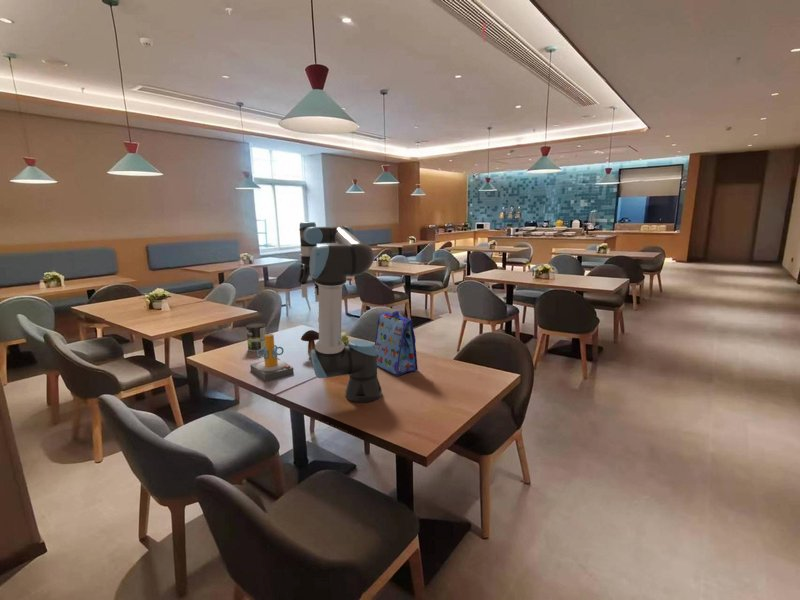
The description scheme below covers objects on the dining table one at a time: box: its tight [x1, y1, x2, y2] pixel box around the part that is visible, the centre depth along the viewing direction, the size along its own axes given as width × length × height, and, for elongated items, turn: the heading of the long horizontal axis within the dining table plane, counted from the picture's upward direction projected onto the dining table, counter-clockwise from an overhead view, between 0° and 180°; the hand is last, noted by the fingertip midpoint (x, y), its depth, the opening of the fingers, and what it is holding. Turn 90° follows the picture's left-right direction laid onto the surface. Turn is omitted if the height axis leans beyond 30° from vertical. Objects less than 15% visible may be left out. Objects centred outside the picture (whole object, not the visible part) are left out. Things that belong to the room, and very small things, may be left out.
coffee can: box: [245, 322, 267, 353], centre depth 226 cm, size 10×10×14 cm
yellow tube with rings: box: [256, 333, 284, 367], centre depth 191 cm, size 12×10×15 cm
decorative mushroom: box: [300, 329, 319, 358], centre depth 212 cm, size 11×11×15 cm
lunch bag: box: [374, 310, 419, 377], centre depth 196 cm, size 22×14×29 cm, turn 37°
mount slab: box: [249, 357, 295, 382], centre depth 193 cm, size 18×14×4 cm
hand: (311, 299), depth 193 cm, fingers open, 13 cm apart
